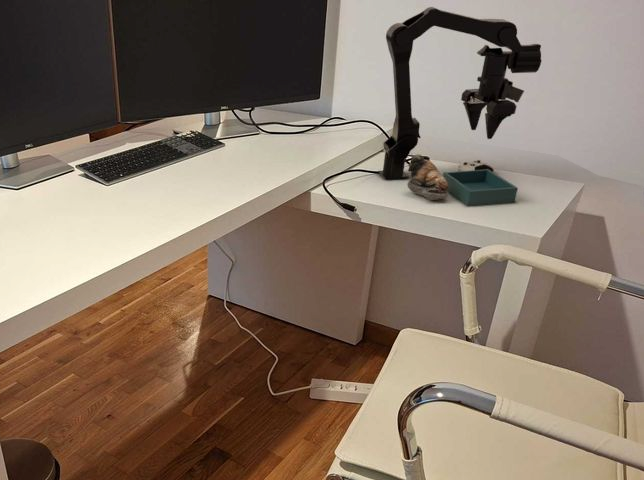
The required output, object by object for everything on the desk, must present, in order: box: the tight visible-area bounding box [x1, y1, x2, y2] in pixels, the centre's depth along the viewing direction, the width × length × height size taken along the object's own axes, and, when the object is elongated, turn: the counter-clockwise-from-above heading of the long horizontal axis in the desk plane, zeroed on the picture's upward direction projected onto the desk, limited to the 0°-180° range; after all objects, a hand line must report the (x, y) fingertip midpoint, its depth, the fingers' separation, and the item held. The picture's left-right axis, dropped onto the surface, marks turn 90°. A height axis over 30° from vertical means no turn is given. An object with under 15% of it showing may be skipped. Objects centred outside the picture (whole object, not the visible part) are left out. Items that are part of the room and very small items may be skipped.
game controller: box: [458, 159, 495, 173], centre depth 187 cm, size 10×5×6 cm
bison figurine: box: [407, 153, 449, 201], centre depth 172 cm, size 12×7×10 cm, turn 33°
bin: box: [442, 169, 519, 207], centre depth 174 cm, size 15×12×4 cm
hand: (481, 134), depth 182 cm, fingers open, 9 cm apart
